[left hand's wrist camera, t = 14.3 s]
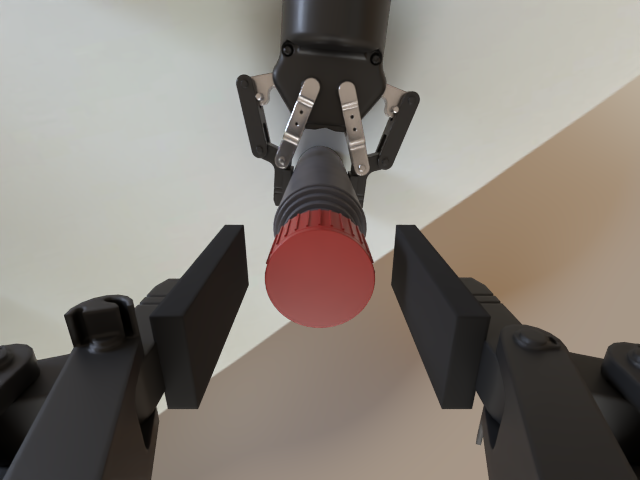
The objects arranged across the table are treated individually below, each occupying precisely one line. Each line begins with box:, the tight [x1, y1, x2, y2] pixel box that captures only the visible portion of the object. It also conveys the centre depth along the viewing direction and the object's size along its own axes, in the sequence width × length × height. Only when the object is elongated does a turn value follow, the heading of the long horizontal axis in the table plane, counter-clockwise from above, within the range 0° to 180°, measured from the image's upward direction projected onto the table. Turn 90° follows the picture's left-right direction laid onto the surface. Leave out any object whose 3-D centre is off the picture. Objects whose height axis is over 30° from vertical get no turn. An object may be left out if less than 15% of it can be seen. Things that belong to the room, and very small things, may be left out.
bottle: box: [273, 146, 367, 237], centre depth 23 cm, size 5×5×23 cm
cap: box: [265, 209, 375, 328], centre depth 13 cm, size 4×4×2 cm
